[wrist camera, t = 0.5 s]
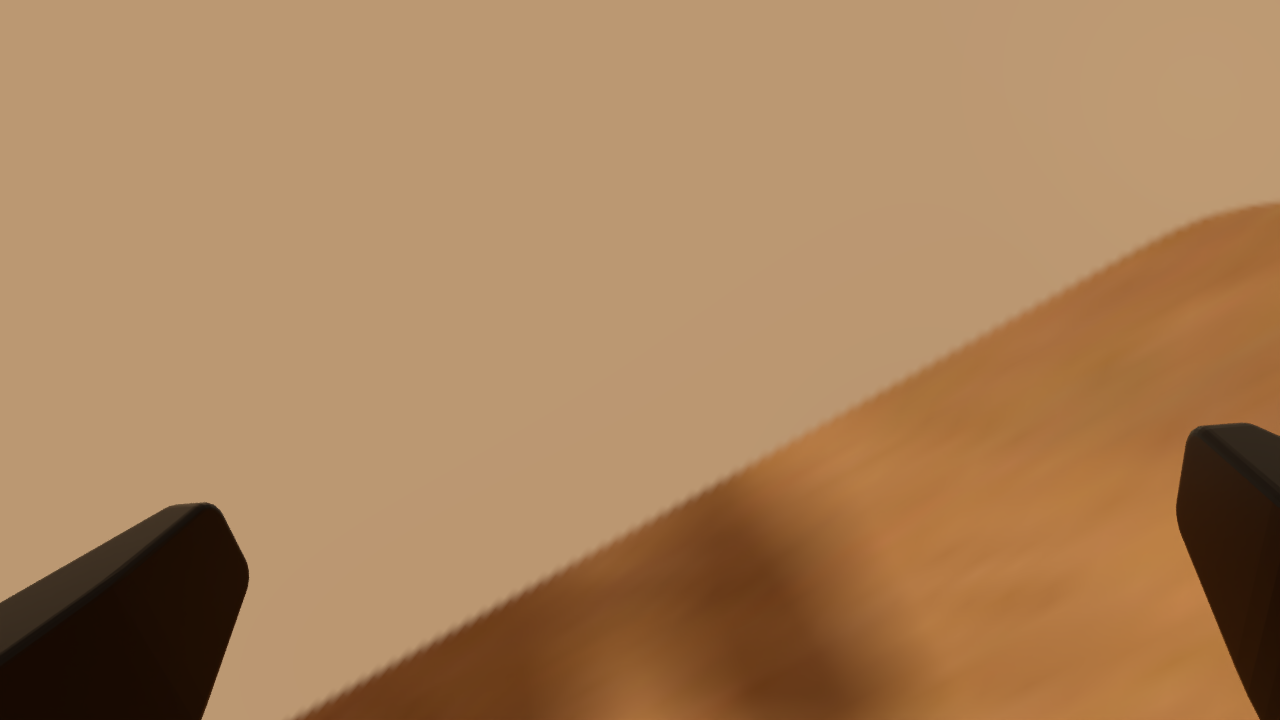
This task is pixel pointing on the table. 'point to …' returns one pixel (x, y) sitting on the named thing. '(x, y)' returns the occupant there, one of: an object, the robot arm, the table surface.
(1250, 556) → the robot arm
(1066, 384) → the table surface
